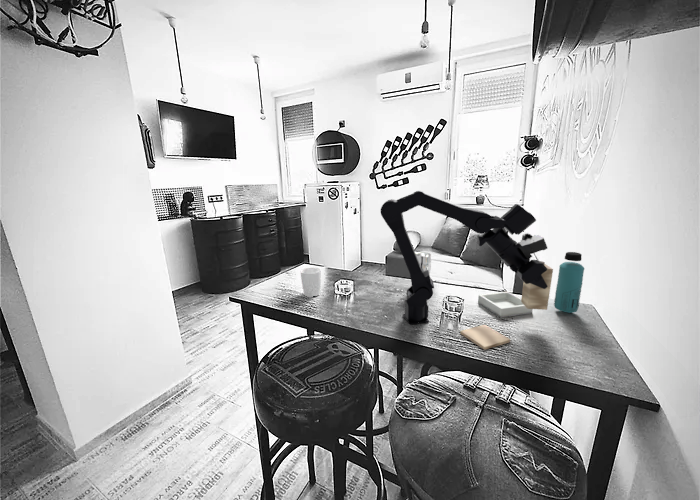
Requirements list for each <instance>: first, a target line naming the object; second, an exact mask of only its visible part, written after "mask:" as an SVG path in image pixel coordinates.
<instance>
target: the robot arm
mask: <svg viewBox="0 0 700 500" xmlns="http://www.w3.org/2000/svg"><path fill="white" fill-rule="evenodd" d="M416 207H422V208H425V209H427V210H430V211H432V212H435V213H438V214H440V215H442V216H445V217H448V218H449V219H452V220H455V221H457V222H459V223H461V224H462V225H464V226H465V227H467V228H468V229H470V230H471V231H473V232H474V233H477V235H476V238H477V239H476V244H477V245H478V246H479V247H482V246H483V245H485V244H487V246H488V247H489V248H490V249H491V250H492V251H493V252H494V253H495V254H496V255H497V256H498V257H499V258H500V261H501V262H502V263H503V264H504V265H505V266H506V267H507V268H508V267H509V269H510V270H511V271H512V272H513V273H516V276H517V277H518V278H520V280H522V282H525V283H526V284H529V283H531V284H533V285H536V286H538V287H541V288H543V289H546V288H547V287H548V286H547V284H546V282H545V281H544V279H543V277H542V275H541V274H543V273H544V272H545V271H547V268H546V267H545V266H544V265H543V264H542V263H541V262H539V261H540V260H538V259H531V258H532V257H533V255H532V254H535V253H538V252H541V251H545V250H548V245H547V243H546V241H545V240H546V239H545V238H544V237H543V236H541V235H539V234H538V235H537V234H534V235H532V234H531V233H529V232H526V233H523V232H524V231H525V230H526V229H528V228H529V227H531V225H533V224H534V223H535V222H536V221H537V219H536V217H534V215H533V214H532V213H531V212H528V210H526V209H525V208H523V207H522V206H521V205H520V204H519V203H518V204H517V203H516V204H514V205H512V206H511V208H510V209H508V211H507V212H506V213H504V214H503V215H502V216H497V215H490V214H489V213H487V212H485V211H483V210H478V209H474V208H467V207H461V206H458V205H455V204H452V203H450V202H448V201H445V200H443V199H440V198H437V197H434V196H432V195H429V194H427V193H425V192H424V191H421V190H416V191H414V192H413V193H411V194H410V193H409V194H408V195H406V196H404V197H401V198H399V199H393V198H392V199H387V200H386V201H385V202H384V203H383V204H382V205H381V207H380V216H381V217H382V219H383V220H384V222H385V224H386V225H387V226H388V228H389V229H390V230H391V232H392V233H393V235H394V236H393V237H394V238H395V240H396V243H397V246H398V248H399V250H400V253H401V256H402V258H403V260H404V263H405V265H406V267H407V270H408V272H409V276H410V282H411V286H410V287H408V288H407V289H406V300H404V313H403V314H402V317H403V318H404V319H405V320H406V322H407V323H408V324H409V325H418V324H425V323H430V320H429V319H428V318H429V305H428V301H429V300H430V299H431V298H432V297H433V295H434V289H435V285H434V280H433V279H432V277H431V276H430V275H429V270H427V271H425V272H424V270H423V269H422V268H421V266H420V264H419V261H418V259H417V256H416V254H415V253H416V252H415V249H414V247H413V244H412V241H411V239H410V235H409V234H408V231H407V229H406V226H405V220H404V216H403V215H404V213H406V212H407V211H410V210H412V209H414V208H416ZM504 229H505V230H504ZM507 232H508V233H509V234H510V235H512V236H513V235H514V234H515V235H518V236H519V235H521V234H522V233H523V234H522V237H521V240H520V241H519V242H517V241H516V240H514V239H513V238H512V237H511V236H510V235H509V234H508V233H507ZM479 234H480V235H479Z"/></svg>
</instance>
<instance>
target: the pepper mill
mask: <svg viewBox="0 0 700 500" xmlns="http://www.w3.org/2000/svg"><path fill="white" fill-rule="evenodd" d="M538 261H539V262H541V263H542V264H543V265H544V266H545V267H546V268H547V271H545V272H544V273H543V274H541V275H542V277H543V279H544V281H545V282H546V284H547V286H548V287H547V288H546V289H543V288H541V287H538V286H536V285H533V284H531V283H529V284H526V283H525V282H524V281H522V283H523V285H522V291H521V293H522V294H521V297H520V298H521V302H522V303H523V304H524V305H525V306H526V308H527V309H533V310H542V311H543V310H545V311H546V310H548V305H549V299H550V294H551V293H550V292H551V285H552V279H553V272H554V268H552V267H550V266H549V265H548V264H547V263H545V262H544V261H542V260H538Z"/></svg>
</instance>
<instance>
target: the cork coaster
mask: <svg viewBox="0 0 700 500" xmlns="http://www.w3.org/2000/svg"><path fill="white" fill-rule="evenodd" d="M459 334H460V335H462V336H463V337H465V338H466V339H468V340H469V341H471V343H473V344H475V345H477V346H478V347H480V348H481V349H483V350H484V351H486V350H489V349H492V348H496V347H499V346H502V345H506V344H508V343H510V342H511V338H509V337H507V336H505V335H503V334H502V333H500V332H498V331H497V330H495V329H493V328H492V327H490V326H487V325H486V324H481V325H477V326H473V327H470V328H466V329H462V330H460V333H459Z"/></svg>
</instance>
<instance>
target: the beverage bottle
mask: <svg viewBox="0 0 700 500" xmlns="http://www.w3.org/2000/svg"><path fill="white" fill-rule="evenodd" d="M564 260H566V261H564V262H562V263H561V264H560V265H559V269H558V275H557V283H556V285H555V286H556V288H555V295H554V298H553V299H554V302H553V307H554V308H555V309H556V310H558V311H561V312H565V313H573V314H574V313H577V312H578V311H579V308H580V301H581V292H582V286H583V280H584V272H585V267H584V266H583V265H582V264H581V263H579V262H581V261H582V253H580V252H577V251H567V252H565V255H564Z"/></svg>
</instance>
